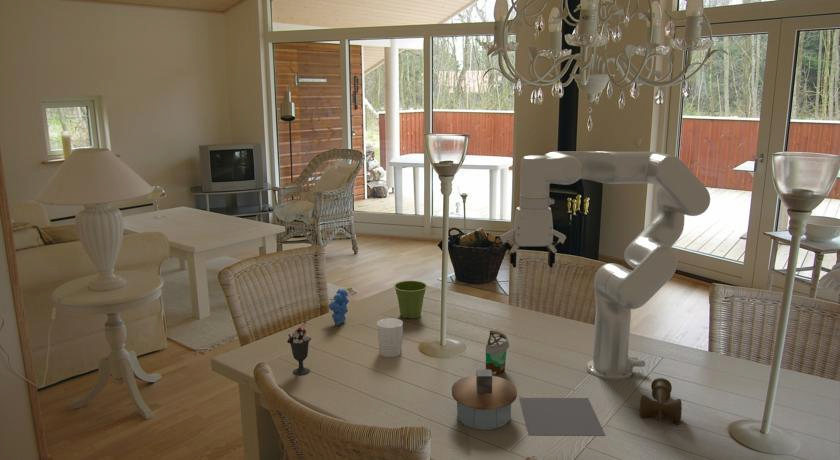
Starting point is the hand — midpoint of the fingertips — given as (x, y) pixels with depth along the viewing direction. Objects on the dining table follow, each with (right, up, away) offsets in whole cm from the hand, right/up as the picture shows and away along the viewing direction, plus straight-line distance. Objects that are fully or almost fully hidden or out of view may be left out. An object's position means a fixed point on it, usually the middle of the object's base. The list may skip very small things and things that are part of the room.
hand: (532, 266), depth 170 cm
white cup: (-39, -29, +27) cm, 55 cm away
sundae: (-64, -32, +15) cm, 73 cm away
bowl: (-14, -37, -11) cm, 41 cm away
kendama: (+31, -37, -9) cm, 49 cm away
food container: (-7, -31, +14) cm, 35 cm away
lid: (-14, -31, -13) cm, 36 cm away
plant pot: (-33, -21, +58) cm, 70 cm away
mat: (+5, -37, -12) cm, 39 cm away
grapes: (-58, -23, +52) cm, 81 cm away
